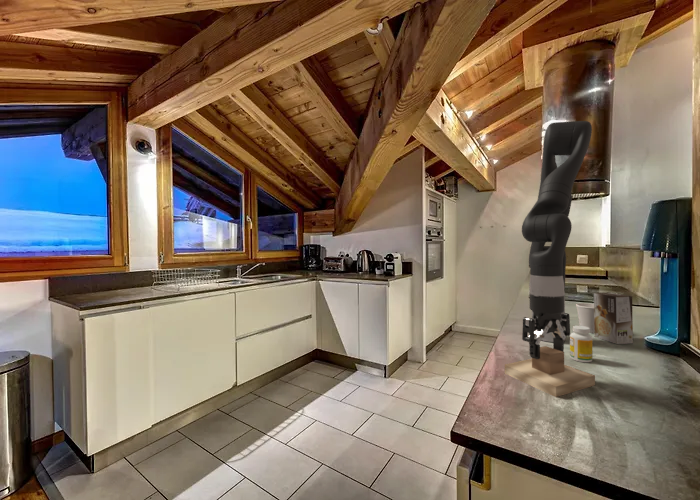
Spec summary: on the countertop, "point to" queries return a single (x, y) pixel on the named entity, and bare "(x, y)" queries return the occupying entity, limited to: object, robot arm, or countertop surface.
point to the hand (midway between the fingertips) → (546, 355)
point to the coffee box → (613, 317)
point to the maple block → (550, 378)
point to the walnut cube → (549, 361)
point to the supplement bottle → (581, 344)
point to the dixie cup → (586, 315)
